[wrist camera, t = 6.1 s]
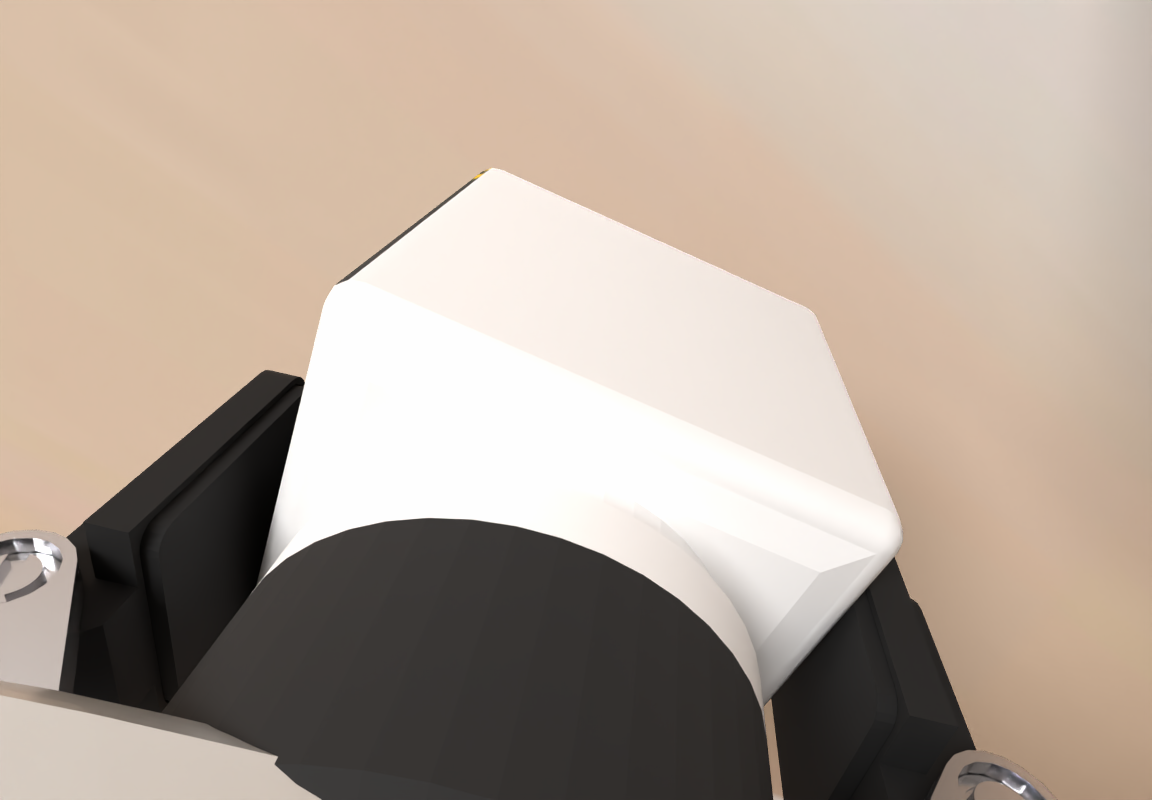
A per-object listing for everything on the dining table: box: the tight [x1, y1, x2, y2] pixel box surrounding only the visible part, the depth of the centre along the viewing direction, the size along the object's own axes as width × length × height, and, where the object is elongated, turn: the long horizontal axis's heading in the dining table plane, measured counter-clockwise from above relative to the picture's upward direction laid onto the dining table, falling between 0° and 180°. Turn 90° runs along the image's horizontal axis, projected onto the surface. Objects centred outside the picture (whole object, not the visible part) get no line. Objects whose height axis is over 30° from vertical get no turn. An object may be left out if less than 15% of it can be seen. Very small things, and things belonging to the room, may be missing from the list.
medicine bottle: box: [161, 168, 903, 800], centre depth 10 cm, size 7×7×12 cm
